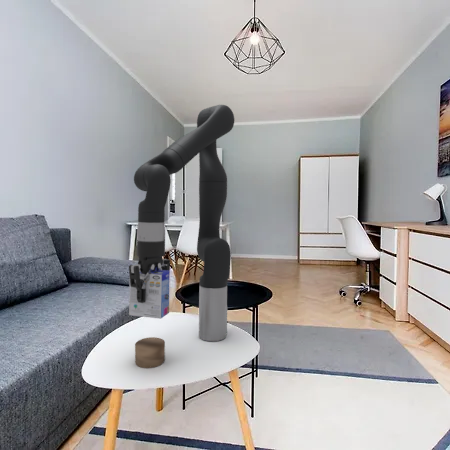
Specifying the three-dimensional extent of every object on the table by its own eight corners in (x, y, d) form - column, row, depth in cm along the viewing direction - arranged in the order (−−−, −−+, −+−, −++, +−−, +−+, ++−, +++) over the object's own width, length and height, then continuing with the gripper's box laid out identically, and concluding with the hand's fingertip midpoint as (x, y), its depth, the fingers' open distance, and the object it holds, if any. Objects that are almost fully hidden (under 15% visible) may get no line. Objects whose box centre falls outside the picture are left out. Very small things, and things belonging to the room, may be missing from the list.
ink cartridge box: (170, 312, 88) (170, 261, 87) (162, 319, 83) (162, 265, 82) (138, 309, 91) (138, 259, 90) (128, 315, 85) (128, 263, 84)
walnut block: (149, 351, 93) (149, 335, 93) (170, 358, 89) (170, 341, 89) (128, 363, 86) (128, 345, 86) (151, 371, 82) (151, 352, 82)
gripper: (142, 242, 78) (141, 308, 78) (178, 237, 90) (177, 295, 91) (120, 239, 81) (120, 303, 82) (158, 236, 94) (157, 291, 95)
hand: (150, 299), depth 87 cm, fingers closed on ink cartridge box, 6 cm apart
